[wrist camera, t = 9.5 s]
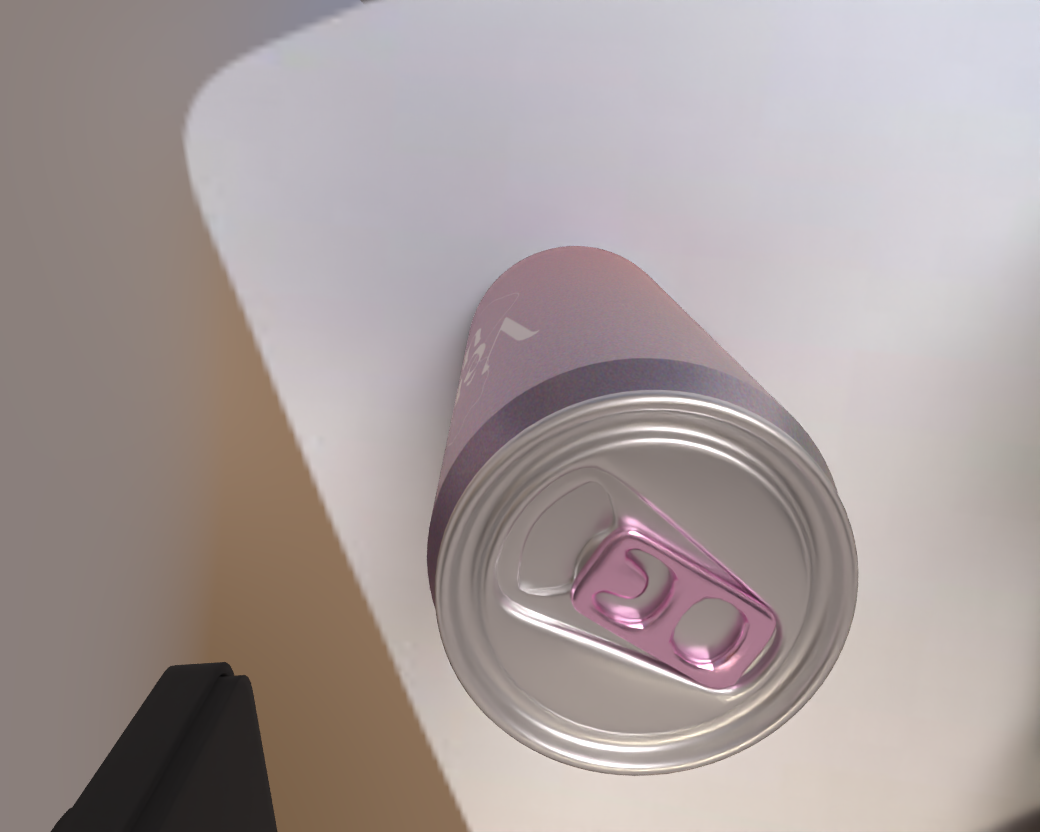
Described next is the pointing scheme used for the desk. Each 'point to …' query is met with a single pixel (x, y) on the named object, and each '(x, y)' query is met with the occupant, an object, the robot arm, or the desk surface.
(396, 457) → the desk surface
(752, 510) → the beverage can
